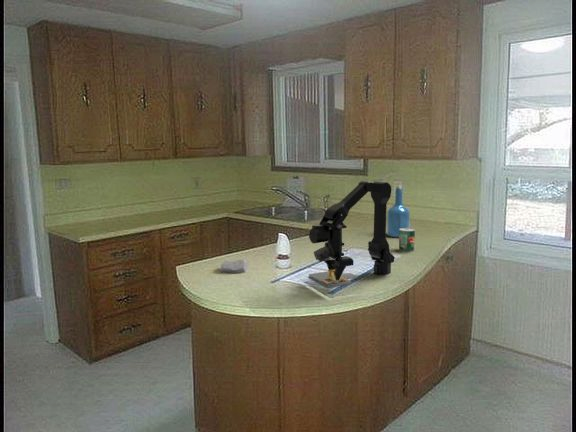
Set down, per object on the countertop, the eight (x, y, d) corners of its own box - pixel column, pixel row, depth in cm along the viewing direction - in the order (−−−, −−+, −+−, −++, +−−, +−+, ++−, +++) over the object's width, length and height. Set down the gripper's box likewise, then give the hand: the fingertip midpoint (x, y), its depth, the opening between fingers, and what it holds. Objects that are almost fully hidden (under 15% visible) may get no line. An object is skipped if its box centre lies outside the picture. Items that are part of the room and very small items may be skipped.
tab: (350, 275, 201) (350, 272, 201) (359, 279, 195) (359, 277, 194) (337, 277, 198) (337, 274, 198) (346, 281, 192) (346, 279, 192)
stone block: (246, 277, 208) (247, 266, 218) (245, 267, 206) (247, 257, 216) (220, 278, 208) (222, 268, 217) (218, 268, 206) (221, 258, 216)
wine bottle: (412, 238, 274) (413, 186, 269) (389, 238, 274) (389, 186, 269) (406, 233, 287) (407, 184, 282) (384, 233, 288) (385, 184, 283)
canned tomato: (414, 252, 240) (415, 230, 238) (399, 251, 241) (399, 230, 239) (414, 248, 247) (414, 228, 245) (398, 248, 249) (399, 227, 247)
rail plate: (329, 275, 201) (329, 270, 200) (350, 286, 186) (350, 281, 185) (308, 278, 197) (308, 273, 196) (328, 290, 181) (328, 284, 181)
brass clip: (336, 278, 189) (336, 268, 189) (341, 280, 186) (341, 270, 185) (327, 279, 188) (327, 269, 187) (332, 282, 184) (332, 272, 184)
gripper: (305, 237, 189) (306, 275, 192) (328, 247, 173) (328, 288, 175) (329, 235, 194) (330, 271, 196) (354, 243, 177) (354, 283, 180)
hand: (334, 278), depth 187 cm, fingers closed on brass clip, 4 cm apart
